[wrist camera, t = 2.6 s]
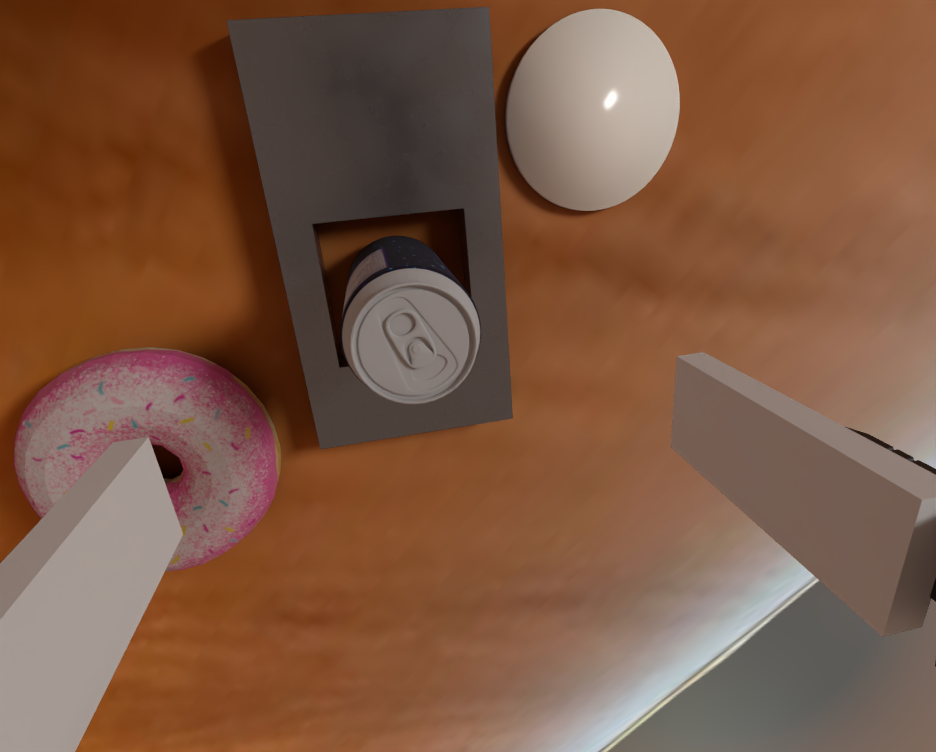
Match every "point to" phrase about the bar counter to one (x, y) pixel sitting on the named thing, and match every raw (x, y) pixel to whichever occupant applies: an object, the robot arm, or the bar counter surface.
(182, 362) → the donut
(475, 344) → the beverage can
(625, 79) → the coaster
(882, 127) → the bar counter surface
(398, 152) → the grey board with hole
